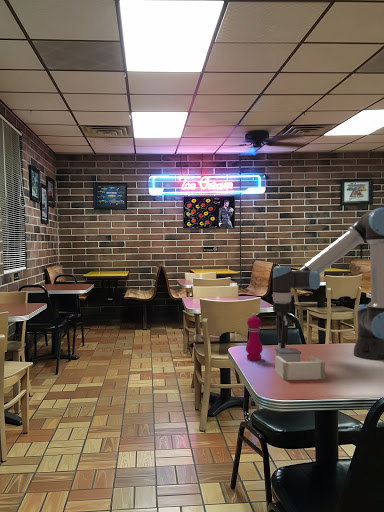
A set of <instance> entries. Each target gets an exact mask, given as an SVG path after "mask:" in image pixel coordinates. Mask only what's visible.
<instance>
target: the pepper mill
mask: <svg viewBox="0 0 384 512" xmlns="http://www.w3.org/2000/svg"><path fill="white" fill-rule="evenodd" d="M246 322H247V323H246V324H247V326H248V333H249V337H248V341H247V343H246V345H245V352H246V353H247V354H246V359H247V360H248V361H254V362H257V361H261V360H262V352H263V345H262V342H261V339H260V336H259V335H260V332H261V330H260V329H261V328H260V327H261V325H262V320H261V318H259V317H258V316H257V313H255V312H253V313H252V314H251V316H250V317H249V318H248V319H247V321H246Z"/></svg>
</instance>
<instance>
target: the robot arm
mask: <svg viewBox="0 0 384 512" xmlns="http://www.w3.org/2000/svg"><path fill="white" fill-rule="evenodd" d="M347 230H348V231H346V232H345V233H343V234H342V235H341V236H339V237H338V238H337V239H336V240H335V241H333V242H332V243H331V244H329V245H328V246H327V247H325V248H324V249H323V250H322V251H320V252H319V253H317V254H316V255H315V256H314V257H313V258H311V259H310V260H309V261H307V262H306V263H305V264H304V265H302V266H301V267H300V268H298V269H296V270H292V268H291V266H287V265H286V266H284V265H283V266H281V265H279V266H278V265H277V266H274V267H273V271H272V272H273V273H272V294H271V296H272V301H273V303H272V311H273V312H275V313H276V316H274V317H275V318H274V319H275V328H276V329H275V330H276V331H275V332H276V340H277V343H278V347H277V348H287V347H286V344H287V343H288V338H289V337H288V336H289V326H290V325H289V324H290V320H288V319H289V318H288V317H289V316H288V314H287V313H290V312H292V304H291V302H292V289H300V290H301V289H303V290H305V289H307V290H314V289H316V290H317V289H319V288H320V287H321V274H322V273H323V272H324V271H326V270H327V269H328V268H330V267H331V266H332V265H333V264H335V263H336V262H337V261H339V260H340V259H342V258H343V257H344V256H345V255H347V254H348V253H349V252H350V251H352V250H353V249H355V248H356V247H358V245H363V244H365V243H366V242H367V243H368V244H369V254H370V256H369V257H370V259H369V266H370V267H369V268H370V302H369V303H368V304H359V305H358V306H357V311H356V314H357V315H356V316H357V319H356V320H357V339H356V342H355V344H354V346H353V355H354V356H355V357H357V358H361V359H367V360H368V359H369V360H384V207H377V208H374V209H373V210H369V211H367V212H365V213H364V214H363V215H362V216H360V217H359V218H357V220H356V221H355V222H353V223H352V224H351V225H350V226H349V227H348V228H347Z"/></svg>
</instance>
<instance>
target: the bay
mask: <svg viewBox="0 0 384 512" xmlns="http://www.w3.org/2000/svg"><path fill="white" fill-rule="evenodd" d="M274 363H275V364H274V367H275V368H274V369H275V371H274V372H275V373H276V374H277V375H278V376H279V377H280V378H281V379H283V381H298V380H300V381H301V380H305V381H307V380H325V378H326V376H325V375H326V373H325V372H326V371H325V365H326V364H325V362H324V361H323V360H321V359H320V358H318V357H316V356H315V355H314V354H312V355H311V354H310V355H309V359H308V361H301V362H286V361H285V360H284V359H282V358H281V357H280V356H276V355H275V357H274Z"/></svg>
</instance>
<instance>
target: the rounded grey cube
mask: <svg viewBox="0 0 384 512" xmlns="http://www.w3.org/2000/svg"><path fill="white" fill-rule="evenodd" d="M274 351H275V356H280V357H281V358H282V359H284V360H285V361H286V362H302V361H301V354H302V351H300V349H297V348H296V347H286V348H278V347H276V348H275V350H274Z"/></svg>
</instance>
